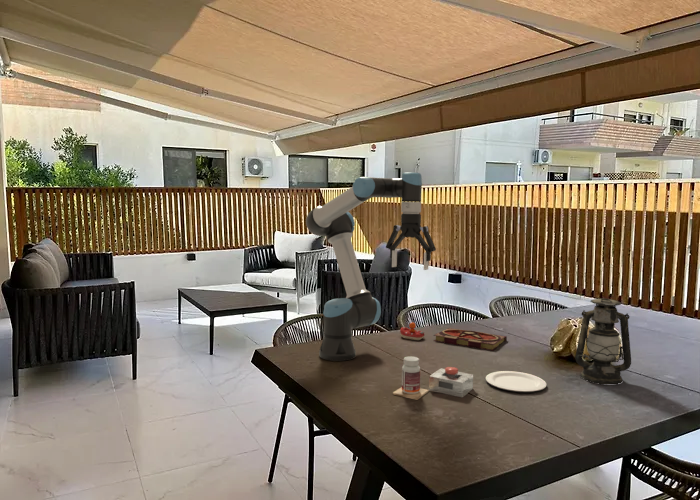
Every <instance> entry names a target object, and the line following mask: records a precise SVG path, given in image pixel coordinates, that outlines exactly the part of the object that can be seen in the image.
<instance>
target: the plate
mask: <svg viewBox="0 0 700 500" xmlns="http://www.w3.org/2000/svg"><path fill="white" fill-rule="evenodd" d="M485 381H486V382H487V383H488V384H489V385H490V386H493V387H495V388H497V389H500V390H504V391H509V392H517V393H535V392H539V391H543V390H544V389H546V388H547V385H548V384H547V382H546V381H545V380H544V379H542V378H541V377H539V376H536V375H534V374H531V373H526V372H522V371H521V372H520V371H511V370H500V371H493V372H490V373H489V374H487V375H486V376H485Z"/></svg>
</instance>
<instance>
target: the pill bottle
mask: <svg viewBox="0 0 700 500" xmlns="http://www.w3.org/2000/svg"><path fill="white" fill-rule="evenodd" d="M401 387H402V391H403V392H404V393H407V394H416V393H419V391H420V388H421V367H420V358H419V357H417V356H411V355H409V356H405V357H404V358H403V365H402V367H401Z"/></svg>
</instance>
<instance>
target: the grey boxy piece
mask: <svg viewBox="0 0 700 500" xmlns="http://www.w3.org/2000/svg"><path fill="white" fill-rule="evenodd" d="M428 377H429V379H428V380H429V381H428V390H429V391H430V392H435V393H441V394H445V395H449V396H453V397H458V398H465V396H466V395H467V394H468V393H470V392H471V391H472V390H473V389H474V374H473V373H467V372H462V371H458V374H455V378H452V377H448V374H447V373H445V368H443V367H442V368H439V369H437V370H436V371H435V372H433V373H432V374H430V375H429V376H428Z"/></svg>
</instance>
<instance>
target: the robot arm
mask: <svg viewBox="0 0 700 500" xmlns="http://www.w3.org/2000/svg"><path fill="white" fill-rule="evenodd" d="M422 180H423V179H422V174H421V173H420V172H410V171H409V172H402V175H401V177H400V178H399V177H397V178H396V177H395V178H390V177H389V178H388V177H374V176H373V177H371V176H360V177H357V178H355V180H354V182H353V183H352V187H350V188H348V189H346V190H345V191H343V192H341V194H338V196H336V197H334V198H333V199H331V200H330V201H328V202H327V203H325V204H323V205H322V206H321V205H318V206H316V207H315V208H313V209H312V210H310V212H308V214H307V215H306V219H305V225H306V228H307V230H308V231H309V232H310V233H311V234H313V235H314V236H317V237H326V240H327V243H329V244H331V245H332V247H333V252H334V256H335V259H336V261H337V265H338V269H339V272H340V276H341V279H342V283H343V286H344V289H345V293H346V297H340V298H339V297H338V298H333V299H331V300H330V299H329V300H328V301H326V302H325V303H324V305H323V338H322V342H321V345H320V347H319V351H318V352H319V355H318V356H319V357H320V358H321V359H322V360H327V361H332V362H333V361H334V362H342V361H344V362H345V361H349V360H352V359H355V357H356V348H355V345H354V342H353V337H352V336H353V335H352V333H353V332H352V331H353V329H357V328H362V327H369V326H371V325H374V324H376V323H377V322H378V320H379V319H380V317H381V315H382V314H381V313H382V308H381V307H382V306H381V303H380V301H379V300H378V299H377V298H376V297H373V296H372V294H371V293H372V292H371V291H369V290H368V289H366V285H365V282H364V280H363V279H364V278H363V276H362V272H361V269H360V266H359V261H358V260H357V256H356V253H355V248H354V245H353V243H352V237H353V235H354V234H353V233H354V230H355V226H356V225H355V224H356V223H355V219H354V217H353V215H352V214H351V212H350V211H352V210H353V209H355V208H356V207H358V206H359V205H361V204H363V203H364V202H366V201H368V200H370V199H371V198H386V199H392V198H394V199H396V198H401V205H400V206H401V211H400V212H401V214H400V223H401V224H400V225H399V224H395V225H394V224H393V229H392V233H391V235H390V236H389V238H388V241H387V242H386V246H385V248H386V249H388V250H389V258H390V259H391V268H396V267H398V266H397V265H398V250H397V248H398V246H399V245H400V244H401V242H402V241H403V240H405V238H411V239H412V238H413V239H414V238H415V239H416V240H417V241H418V243H419V244H420V245H421V247H422V248H423V250H424V252H423V271H427V270H429V266H430V264H429V263H430V261H431V260H432V258H431V257H432V252H436V250H437V247H436V246H435V243H434V241H433V238H432V236H431V234H430V231H429V226H427V225H425V226H424V225H423V226H421V223H422V222H421V221H422V215H421V212H422V190H423V189H422V187H423V183H422V182H423V181H422ZM400 231H401V233H400V234H399V236H398V233H399V232H400ZM421 232H422V234H423V235H424V238H425V239H424V238H423V235H422V234H421ZM397 236H398V237H397ZM425 240H426V241H425Z"/></svg>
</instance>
